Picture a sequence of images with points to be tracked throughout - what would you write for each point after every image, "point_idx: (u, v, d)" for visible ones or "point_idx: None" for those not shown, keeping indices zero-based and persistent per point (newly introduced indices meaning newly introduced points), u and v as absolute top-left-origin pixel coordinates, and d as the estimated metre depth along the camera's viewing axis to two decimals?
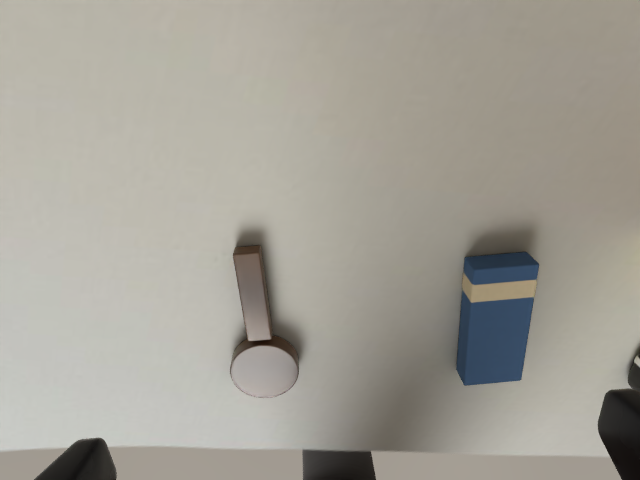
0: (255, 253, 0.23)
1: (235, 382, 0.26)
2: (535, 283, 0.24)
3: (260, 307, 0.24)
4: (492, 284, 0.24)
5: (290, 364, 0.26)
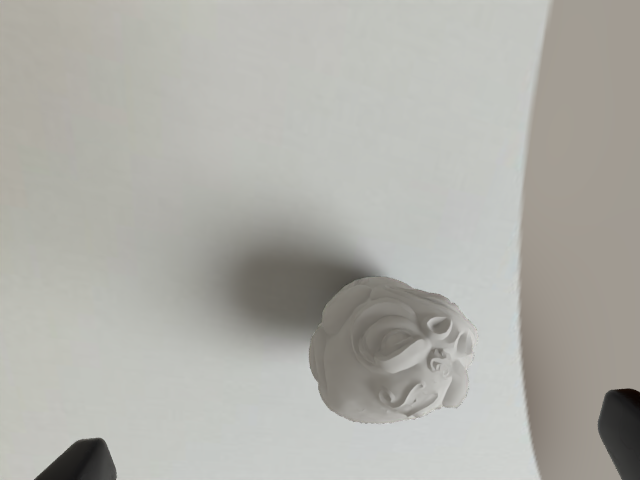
0: None
1: None
2: None
3: None
4: None
5: None
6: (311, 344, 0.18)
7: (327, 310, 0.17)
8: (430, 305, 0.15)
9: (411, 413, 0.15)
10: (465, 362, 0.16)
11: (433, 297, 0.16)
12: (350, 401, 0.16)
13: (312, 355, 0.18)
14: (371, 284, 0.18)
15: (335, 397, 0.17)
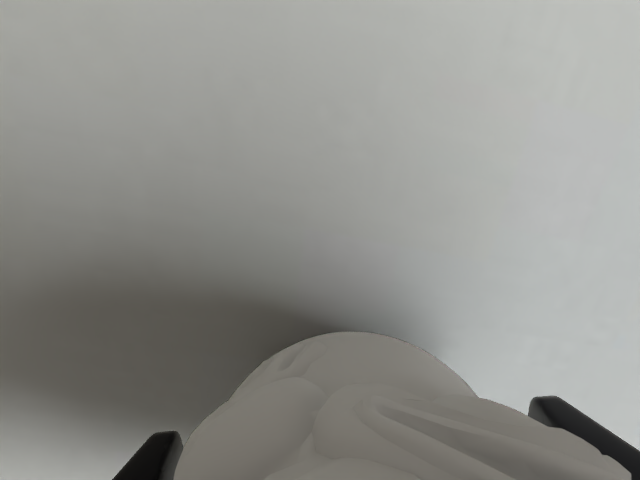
0: None
1: None
2: None
3: None
4: None
5: None
6: None
7: (183, 463, 0.05)
8: None
9: None
10: None
11: (553, 458, 0.04)
12: None
13: None
14: (329, 365, 0.06)
15: None
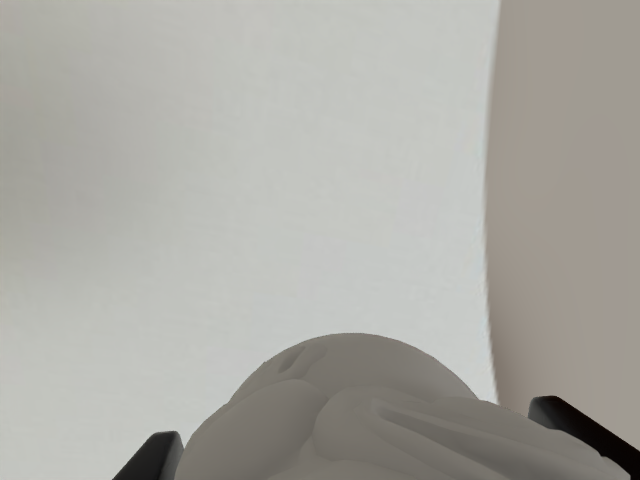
0: None
1: None
2: None
3: None
4: None
5: None
6: None
7: (184, 465, 0.05)
8: None
9: None
10: None
11: (553, 460, 0.04)
12: None
13: None
14: (329, 367, 0.06)
15: None
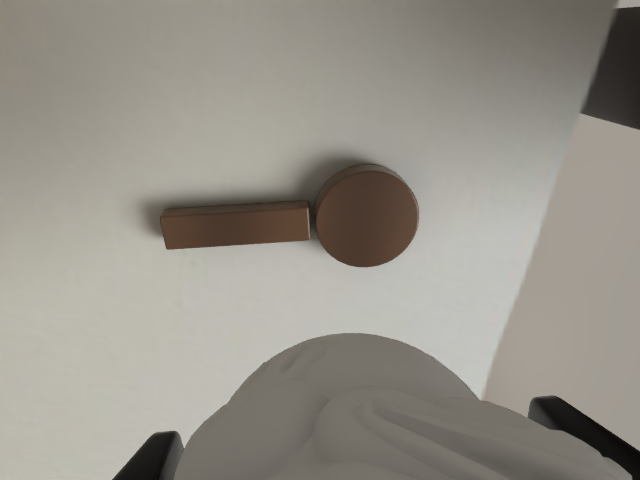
0: (161, 222, 0.17)
1: (381, 262, 0.18)
2: None
3: (250, 220, 0.17)
4: None
5: (356, 183, 0.16)
6: None
7: (183, 466, 0.05)
8: None
9: None
10: None
11: (554, 461, 0.04)
12: None
13: None
14: (329, 367, 0.06)
15: None
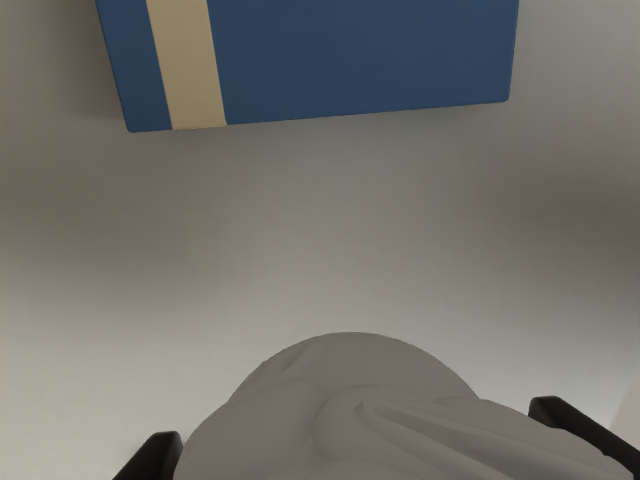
0: None
1: None
2: None
3: None
4: (164, 75, 0.09)
5: None
6: None
7: (182, 466, 0.05)
8: None
9: None
10: None
11: (556, 459, 0.04)
12: None
13: None
14: (329, 366, 0.06)
15: None
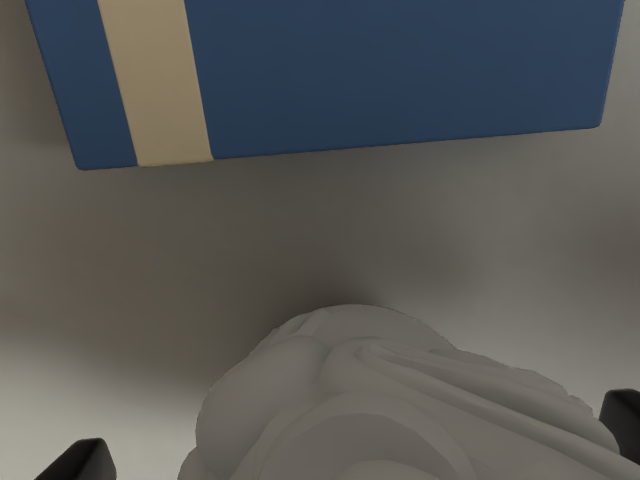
0: None
1: None
2: None
3: None
4: (124, 93, 0.06)
5: None
6: None
7: (205, 409, 0.06)
8: (525, 432, 0.04)
9: None
10: None
11: (523, 389, 0.05)
12: None
13: None
14: (333, 328, 0.07)
15: None
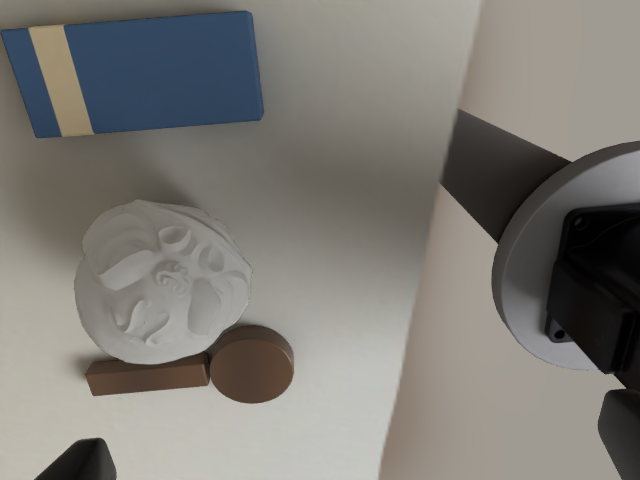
0: (86, 378, 0.21)
1: (267, 399, 0.22)
2: (35, 30, 0.14)
3: (157, 374, 0.21)
4: (54, 105, 0.15)
5: (238, 347, 0.21)
6: None
7: None
8: (169, 214, 0.13)
9: (145, 338, 0.13)
10: (223, 284, 0.14)
11: (183, 209, 0.14)
12: (99, 332, 0.14)
13: None
14: None
15: (90, 330, 0.15)
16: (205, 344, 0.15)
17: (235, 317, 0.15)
